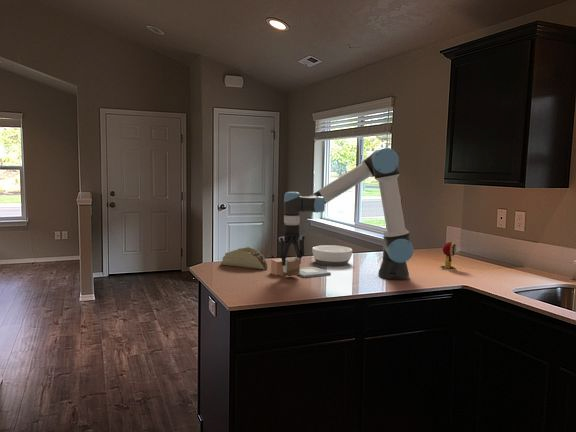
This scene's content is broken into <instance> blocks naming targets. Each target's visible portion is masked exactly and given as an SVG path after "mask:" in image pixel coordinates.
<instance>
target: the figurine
mask: <svg viewBox="0 0 576 432" xmlns="http://www.w3.org/2000/svg"><path fill="white" fill-rule="evenodd" d="M442 252H443V254H444V255H445V259H444V265H440V266H439V267H438V269H440V270H441V269H442V271H447V270H450V271H449V272H452V271H451V270H455V271H457V268H456V267H454V266H452V260H453V259H452V257H454V256H455V255H456V254H457V245H456V244H455V242H452V241H449V242H446V243H444V244H443V246H442Z"/></svg>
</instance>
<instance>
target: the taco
mask: <svg viewBox="0 0 576 432" xmlns="http://www.w3.org/2000/svg"><path fill="white" fill-rule="evenodd" d="M220 264H221V266H230V267H236V268H245V269H255V270H261V269H263V271H266V270H268V262H267V260H266V258H265V256H264V255H263V254H262V253H261V252H260V251H258V250H257V249H255V248H251V247H249V246H247V247H240V248H238V249H235V250H231V251H229V252H226V253H225V254H224V255H223V257H222V261H221V263H220Z"/></svg>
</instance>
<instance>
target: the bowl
mask: <svg viewBox="0 0 576 432" xmlns="http://www.w3.org/2000/svg"><path fill="white" fill-rule="evenodd" d="M312 255H313V258H314V260H315V262H316V264H318V265H321V266H325V267H344V266H347V265H348V263H349V261H350V260H351V258H352V255H353V249H352V248H351V247H348V246H341V245H334V244H333V245H332V244H331V245H330V244H329V245H328V244H327V245H326V244H325V245H317V246H313V247H312Z"/></svg>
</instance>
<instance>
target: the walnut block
mask: <svg viewBox="0 0 576 432" xmlns="http://www.w3.org/2000/svg"><path fill="white" fill-rule="evenodd" d="M286 259H287V273H285V272H283V274H285V275H284V276H288V277H292V276H298V275H300V268H301V266H300V265H301V263H300V261H299V260H297V259H295V258H286Z"/></svg>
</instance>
